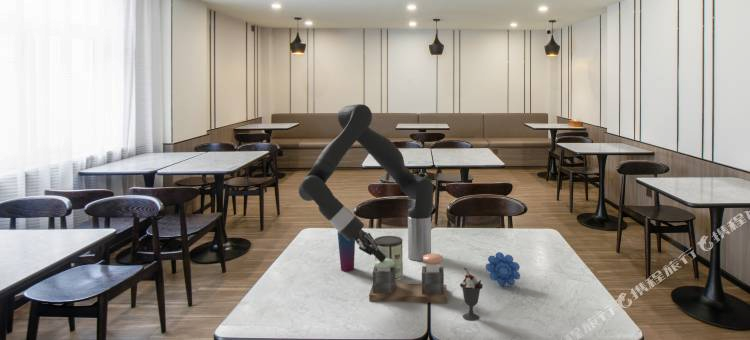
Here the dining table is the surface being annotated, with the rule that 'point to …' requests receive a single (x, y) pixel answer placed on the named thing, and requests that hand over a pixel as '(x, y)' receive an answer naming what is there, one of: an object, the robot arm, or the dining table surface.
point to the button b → (432, 262)
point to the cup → (346, 252)
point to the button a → (384, 265)
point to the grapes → (503, 269)
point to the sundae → (471, 295)
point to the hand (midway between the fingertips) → (383, 259)
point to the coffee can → (392, 251)
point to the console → (408, 287)
